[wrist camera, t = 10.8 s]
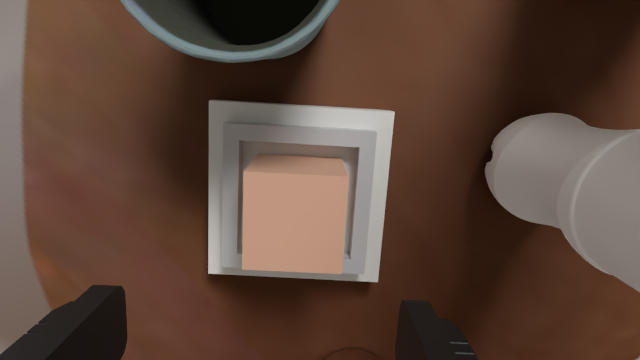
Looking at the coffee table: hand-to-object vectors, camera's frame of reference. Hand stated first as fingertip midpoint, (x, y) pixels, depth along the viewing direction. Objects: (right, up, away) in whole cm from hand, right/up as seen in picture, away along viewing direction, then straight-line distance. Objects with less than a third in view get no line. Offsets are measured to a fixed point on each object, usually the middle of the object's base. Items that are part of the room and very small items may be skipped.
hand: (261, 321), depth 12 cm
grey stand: (0, +3, +18) cm, 18 cm away
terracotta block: (0, +3, +16) cm, 16 cm away
